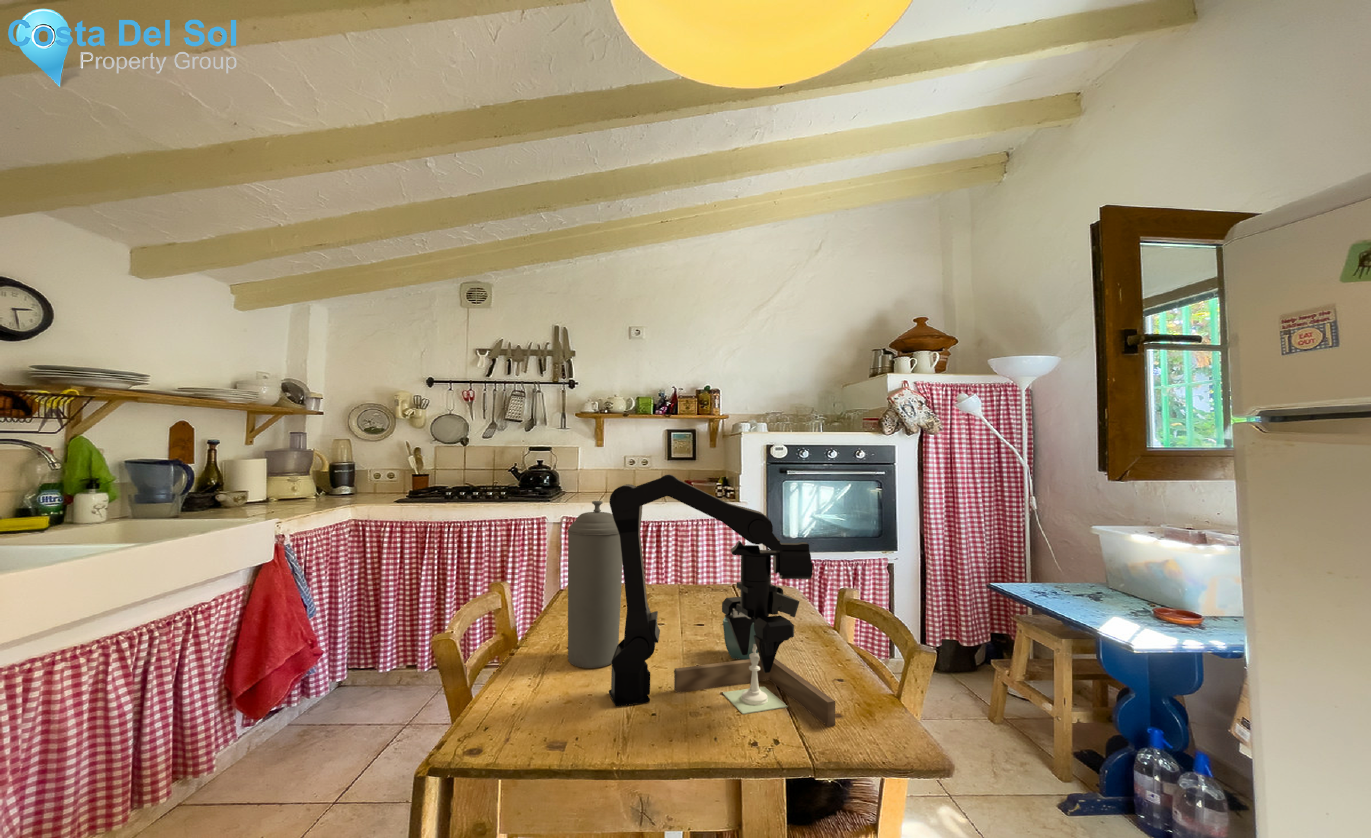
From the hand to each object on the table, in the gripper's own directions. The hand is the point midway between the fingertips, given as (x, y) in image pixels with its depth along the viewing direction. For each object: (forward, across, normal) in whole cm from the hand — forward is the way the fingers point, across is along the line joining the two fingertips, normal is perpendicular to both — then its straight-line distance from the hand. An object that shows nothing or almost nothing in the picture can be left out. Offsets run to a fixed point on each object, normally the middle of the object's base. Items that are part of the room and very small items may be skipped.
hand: (755, 663), depth 103 cm
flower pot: (+7, +21, -8) cm, 24 cm away
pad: (+7, 0, 0) cm, 7 cm away
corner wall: (+7, -2, +2) cm, 7 cm away
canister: (+7, +29, +25) cm, 39 cm away
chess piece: (+7, 0, 0) cm, 7 cm away
